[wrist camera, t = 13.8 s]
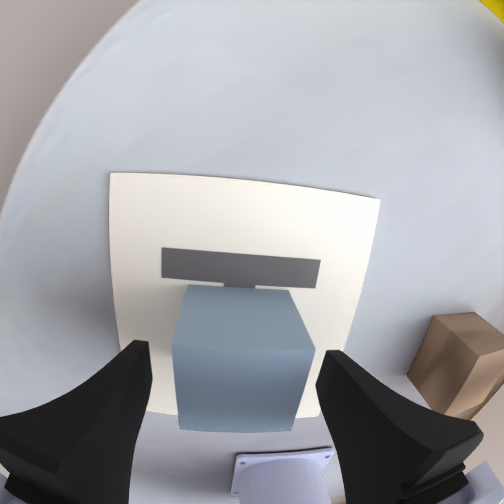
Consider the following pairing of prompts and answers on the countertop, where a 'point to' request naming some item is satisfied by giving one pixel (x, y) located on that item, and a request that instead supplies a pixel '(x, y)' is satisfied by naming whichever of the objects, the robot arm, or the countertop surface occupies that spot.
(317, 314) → the letter card
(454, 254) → the countertop surface
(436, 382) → the walnut block
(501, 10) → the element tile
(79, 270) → the countertop surface
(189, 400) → the dusty blue cube
